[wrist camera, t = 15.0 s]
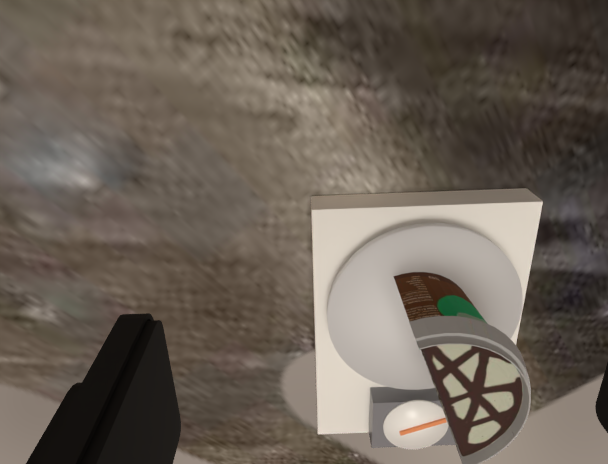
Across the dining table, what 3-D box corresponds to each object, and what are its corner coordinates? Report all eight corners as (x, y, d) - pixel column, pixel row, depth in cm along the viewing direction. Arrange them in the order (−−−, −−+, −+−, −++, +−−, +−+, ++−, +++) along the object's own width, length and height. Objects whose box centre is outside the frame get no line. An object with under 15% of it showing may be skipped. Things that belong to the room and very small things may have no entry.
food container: (499, 353, 42) (555, 449, 33) (430, 375, 43) (466, 474, 34) (464, 233, 37) (519, 308, 28) (387, 261, 38) (416, 342, 29)
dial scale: (310, 195, 41) (312, 222, 36) (526, 188, 41) (557, 213, 36) (316, 411, 51) (319, 454, 46) (489, 404, 51) (509, 447, 46)
